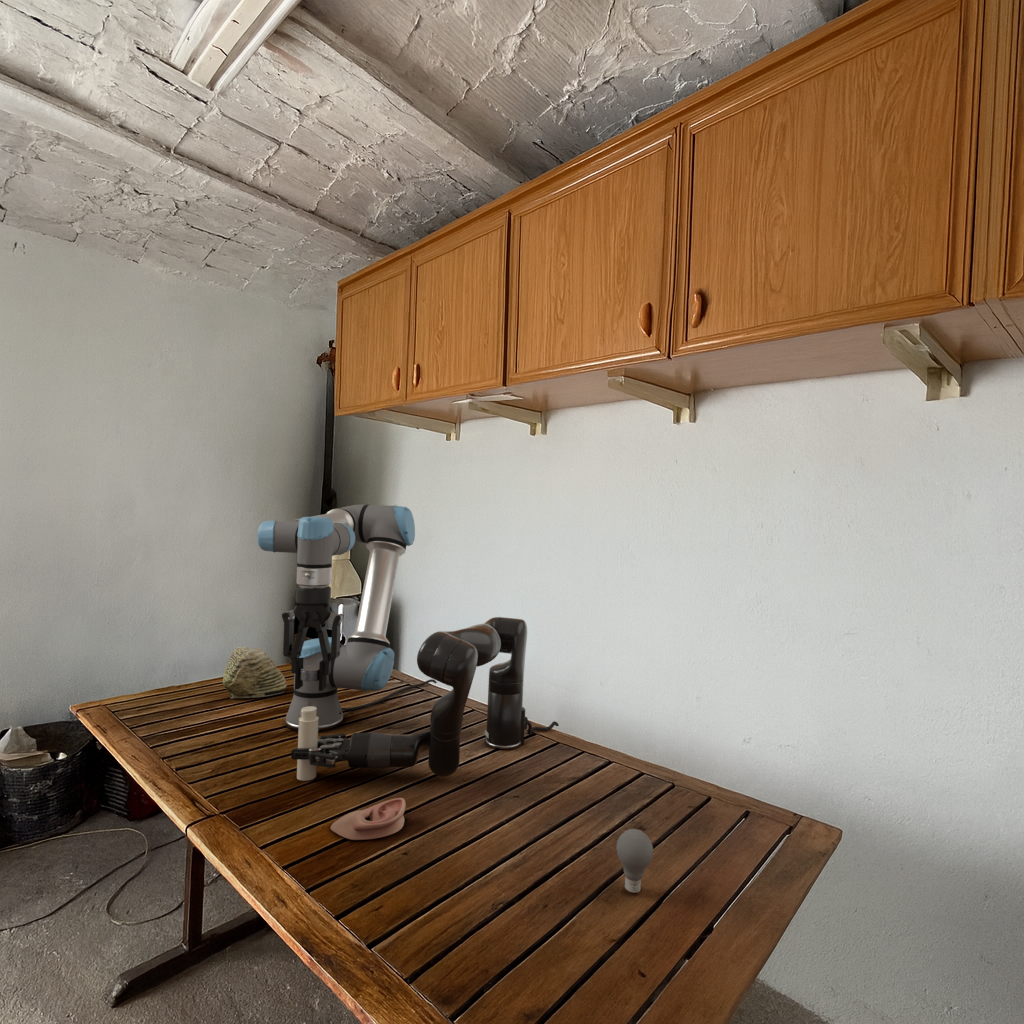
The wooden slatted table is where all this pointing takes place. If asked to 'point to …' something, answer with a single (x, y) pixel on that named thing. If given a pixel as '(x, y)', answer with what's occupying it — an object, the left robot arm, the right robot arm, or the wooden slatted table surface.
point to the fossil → (252, 674)
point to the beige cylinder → (307, 741)
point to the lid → (309, 673)
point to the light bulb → (634, 857)
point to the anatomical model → (372, 821)
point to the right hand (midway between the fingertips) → (295, 749)
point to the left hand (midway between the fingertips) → (310, 688)
